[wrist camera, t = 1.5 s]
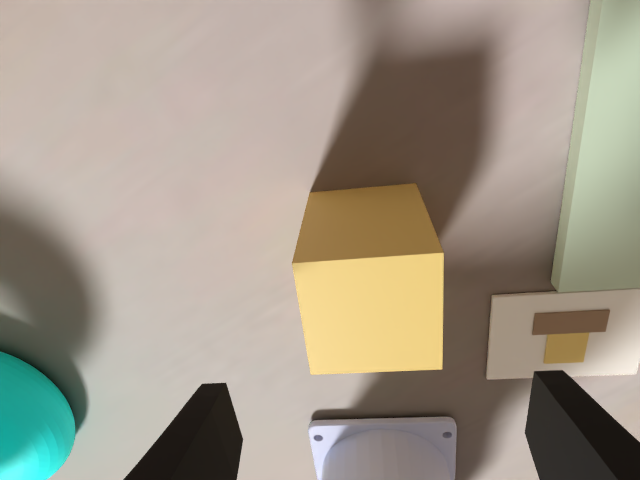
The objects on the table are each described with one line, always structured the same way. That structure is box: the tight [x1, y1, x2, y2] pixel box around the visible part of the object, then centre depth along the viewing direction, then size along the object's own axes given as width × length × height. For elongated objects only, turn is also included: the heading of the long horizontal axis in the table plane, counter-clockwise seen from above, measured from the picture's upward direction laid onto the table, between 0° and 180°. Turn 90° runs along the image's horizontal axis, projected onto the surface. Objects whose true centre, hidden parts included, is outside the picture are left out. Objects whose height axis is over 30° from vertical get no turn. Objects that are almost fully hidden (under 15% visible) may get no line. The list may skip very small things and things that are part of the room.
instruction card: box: [486, 288, 640, 380], centre depth 20 cm, size 5×7×1 cm
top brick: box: [292, 183, 444, 375], centre depth 16 cm, size 4×4×6 cm
